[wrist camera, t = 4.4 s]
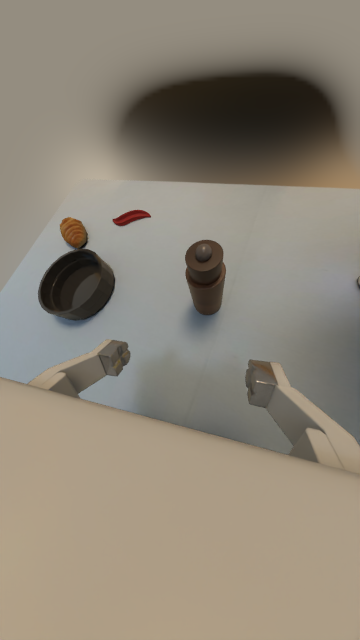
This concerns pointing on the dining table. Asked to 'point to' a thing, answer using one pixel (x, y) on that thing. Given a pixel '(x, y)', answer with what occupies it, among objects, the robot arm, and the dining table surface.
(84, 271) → the pan
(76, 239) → the pastry
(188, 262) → the pepper mill
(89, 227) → the dining table surface
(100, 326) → the dining table surface
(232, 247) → the dining table surface
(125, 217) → the cayenne pepper
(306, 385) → the dining table surface
